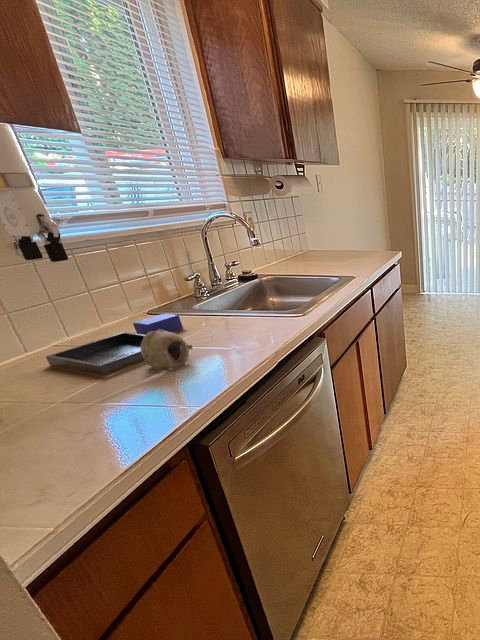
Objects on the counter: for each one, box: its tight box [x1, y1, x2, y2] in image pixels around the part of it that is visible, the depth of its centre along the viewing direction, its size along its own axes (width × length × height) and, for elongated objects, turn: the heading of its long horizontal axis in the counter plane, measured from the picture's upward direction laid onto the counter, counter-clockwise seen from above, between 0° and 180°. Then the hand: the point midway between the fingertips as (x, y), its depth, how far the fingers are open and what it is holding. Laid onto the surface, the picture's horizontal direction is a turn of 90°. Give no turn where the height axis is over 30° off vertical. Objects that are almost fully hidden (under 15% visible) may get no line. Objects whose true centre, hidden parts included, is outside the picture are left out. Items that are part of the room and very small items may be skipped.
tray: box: [45, 331, 146, 377], centre depth 101 cm, size 20×18×3 cm
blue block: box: [132, 313, 184, 335], centre depth 117 cm, size 6×9×5 cm, turn 162°
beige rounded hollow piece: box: [141, 329, 194, 371], centre depth 96 cm, size 9×8×10 cm
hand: (47, 260), depth 97 cm, fingers open, 9 cm apart
